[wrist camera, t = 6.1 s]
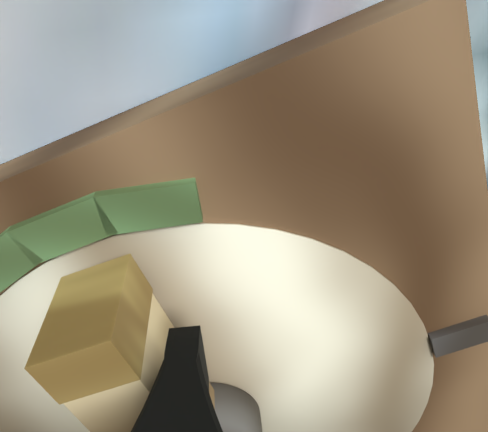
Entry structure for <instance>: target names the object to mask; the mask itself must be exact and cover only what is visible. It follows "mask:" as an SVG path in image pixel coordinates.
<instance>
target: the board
mask: <svg viewBox="0 0 488 432" xmlns="http://www.w3.org/2000/svg"><path fill="white" fill-rule="evenodd" d="M127 254H131V255H132V257H133V259H134V260H135V262H136V263H137V265H138V267H139V268H140V270H141V271H142V273H143V274H144V276H145V278H146V279H147V281H148V282H149V284H150V285H151V287H152V289H153V295H154V296H155V298H156V299H157V301H158V303H159V304H160V306H161V307H162V309H163V310H164V312H165V313H166V315H167V317H168V318H169V320H170V321H171V323H172V324H173V326H174V328H178V327H188V326H199V325H200V327H201V334H202V340H203V346H204V352H205V358H206V364H207V370H208V376H209V382H210V383H222V384H227V385H231V386H235V387H237V388H240V389H242V390H244V391H245V392H247V393H248V394H250V395H251V396H252V397H253V398H254V399H255V400H256V402H257V403H258V406H259V409H260V415H261V424H262V432H488V190H487V181H486V173H485V164H484V155H483V146H482V138H481V129H480V120H479V111H478V103H477V94H476V85H475V76H474V68H473V59H472V50H471V41H470V33H469V24H468V15H467V6H466V0H384V1H382V2H379V3H377V4H375V5H372V6H370V7H368V8H365V9H363V10H361V11H358V12H356V13H354V14H351V15H349V16H347V17H344V18H342V19H340V20H337V21H335V22H333V23H330V24H328V25H326V26H323V27H321V28H319V29H316V30H314V31H312V32H309V33H307V34H305V35H302V36H300V37H298V38H295V39H293V40H291V41H288V42H286V43H284V44H281V45H279V46H277V47H274V48H272V49H270V50H267V51H265V52H263V53H260V54H258V55H256V56H253V57H251V58H249V59H246V60H244V61H242V62H239V63H237V64H235V65H232V66H230V67H228V68H225V69H223V70H221V71H218V72H216V73H214V74H211V75H209V76H207V77H204V78H202V79H200V80H197V81H195V82H193V83H190V84H188V85H186V86H183V87H181V88H179V89H176V90H174V91H172V92H169V93H167V94H165V95H162V96H160V97H158V98H155V99H153V100H151V101H148V102H146V103H144V104H141V105H139V106H137V107H134V108H132V109H129V110H127V111H125V112H122V113H120V114H118V115H115V116H113V117H111V118H108V119H106V120H104V121H101V122H99V123H97V124H94V125H92V126H90V127H87V128H85V129H83V130H80V131H78V132H76V133H73V134H71V135H69V136H66V137H64V138H62V139H59V140H57V141H55V142H52V143H50V144H48V145H45V146H43V147H41V148H38V149H36V150H34V151H31V152H29V153H27V154H24V155H22V156H20V157H17V158H15V159H13V160H10V161H8V162H6V163H3V164H1V165H0V432H90V431H89V430H88V429H87V428H86V427H85V426H84V425H83V424H82V423H81V422H80V421H79V420H78V419H77V418H76V417H75V416H74V414H73V413H72V412H71V411H70V410H69V409H68V408H67V407H66V406H65V405H64V404H60V405H59V404H58V403H57V402H56V401H55V400H54V399H53V398H52V397H51V396H50V395H49V394H48V393H47V392H46V391H45V389H44V388H43V387H42V386H41V385H40V384H39V383H38V382H37V381H36V380H35V379H34V378H33V377H32V376H31V375H30V374H29V373H28V372H27V371H26V370H25V369H24V368H25V365H26V363H27V360H28V358H29V356H30V353H31V351H32V348H33V346H34V343H35V341H36V338H37V336H38V333H39V331H40V328H41V326H42V323H43V321H44V318H45V316H46V313H47V311H48V309H49V306H50V304H51V301H52V299H53V296H54V294H55V291H56V289H57V286H58V284H59V281H60V279H61V277H63V276H66V275H69V274H72V273H75V272H78V271H81V270H84V269H86V268H89V267H92V266H95V265H98V264H101V263H104V262H107V261H110V260H113V259H115V258H118V257H121V256H124V255H127Z"/></svg>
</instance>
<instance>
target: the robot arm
mask: <svg viewBox="0 0 488 432" xmlns="http://www.w3.org/2000/svg"><path fill="white" fill-rule="evenodd" d="M131 432H223V430H222V428H221V425H220V423H219V420H218V417H217V415H216V412H215V409H214V406H213V403H212V400H211V397H210V394H209V376H208V370H207V364H206V358H205V352H204V346H203V340H202V334H201V327H200V325H199V326H188V327H178V328H169V331H168V336H167V341H166V346H165V352H164V360H163V362H162V365H161V367H160V370H159V372H158V375H157V377H156V380H155V382H154V384H153V386H152V389H151V391H150V393H149V395H148V398H147V400H146V402H145V404H144V406H143V408H142V410H141V412H140V414H139V416H138V418H137V420H136V422H135V424H134V426H133V428H132V430H131Z"/></svg>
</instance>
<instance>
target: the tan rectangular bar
mask: <svg viewBox="0 0 488 432" xmlns="http://www.w3.org/2000/svg"><path fill="white" fill-rule="evenodd" d="M169 328H174V326H173V324H172V323H171V321H170V320H169V318H168V317H167V315H166V313H165V312H164V310H163V309H162V307H161V306H160V304H159V303H158V301H157V299H156V298H155V296H154V295H153V289H152V287H151V285H150V284H149V282H148V281H147V279H146V278H145V276H144V274H143V273H142V271H141V270H140V268H139V267H138V265H137V263H136V262H135V260H134V259H133V257H132V255H131V254H127V255H124V256H121V257H118V258H115V259H113V260H110V261H107V262H104V263H101V264H98V265H95V266H92V267H89V268H86V269H84V270H81V271H78V272H75V273H72V274H69V275H66V276H63V277H61V279H60V281H59V284H58V286H57V289H56V291H55V294H54V296H53V299H52V301H51V304H50V306H49V309H48V311H47V313H46V316H45V318H44V321H43V323H42V326H41V328H40V331H39V333H38V336H37V338H36V341H35V343H34V346H33V348H32V351H31V353H30V356H29V358H28V360H27V363H26V365H25V368H24V369H25V370H26V371H27V372H28V373H29V374H30V375H31V376H32V377H33V378H34V379H35V380H36V381H37V382H38V383H39V384H40V385H41V386H42V387H43V388H44V389H45V391H46V392H47V393H48V394H49V395H50V396H51V397H52V398H53V399H54V400H55V401H56V402H57V403H58V404H59V405H60V404H64V405H65V406H66V407H67V408H68V409H69V410H70V411H71V412H72V413H73V414H74V416H75V417H76V418H77V419H78V420H79V421H80V422H81V423H82V424H83V425H84V426H85V427H86V428H87V429H88V430H89V431H90V432H131V430H132V428H133V426H134V424H135V422H136V420H137V418H138V416H139V414H140V412H141V410H142V408H143V406H144V404H145V402H146V400H147V398H148V395H149V393H150V391H151V389H152V386H153V384H154V382H155V380H156V377H157V375H158V372H159V370H160V367H161V365H162V362H163V360H164V352H165V346H166V341H167V336H168V331H169ZM209 394H210V397H211V400H212V403H213V406H214V409H215V412H216V415H217V417H218V420H219V423H220V425H221V428H222V430H223V432H262V424H261V415H260V409H259V406H258V403H257V402H256V400H255V399H254V398H253V397H252V396H251V395H250V394H248V393H247V392H245V391H244V390H242V389H240V388H237V387H235V386H231V385H227V384H222V383H210V382H209Z"/></svg>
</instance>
